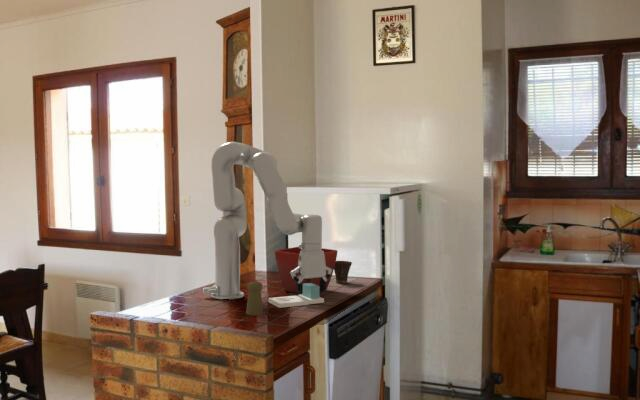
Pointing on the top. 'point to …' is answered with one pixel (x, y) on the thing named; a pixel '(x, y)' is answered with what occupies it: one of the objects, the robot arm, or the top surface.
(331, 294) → the top surface
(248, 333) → the top surface
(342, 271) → the cup
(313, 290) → the stub
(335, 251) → the plant pot
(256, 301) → the olive green pepper shaker
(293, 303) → the white flat slab
